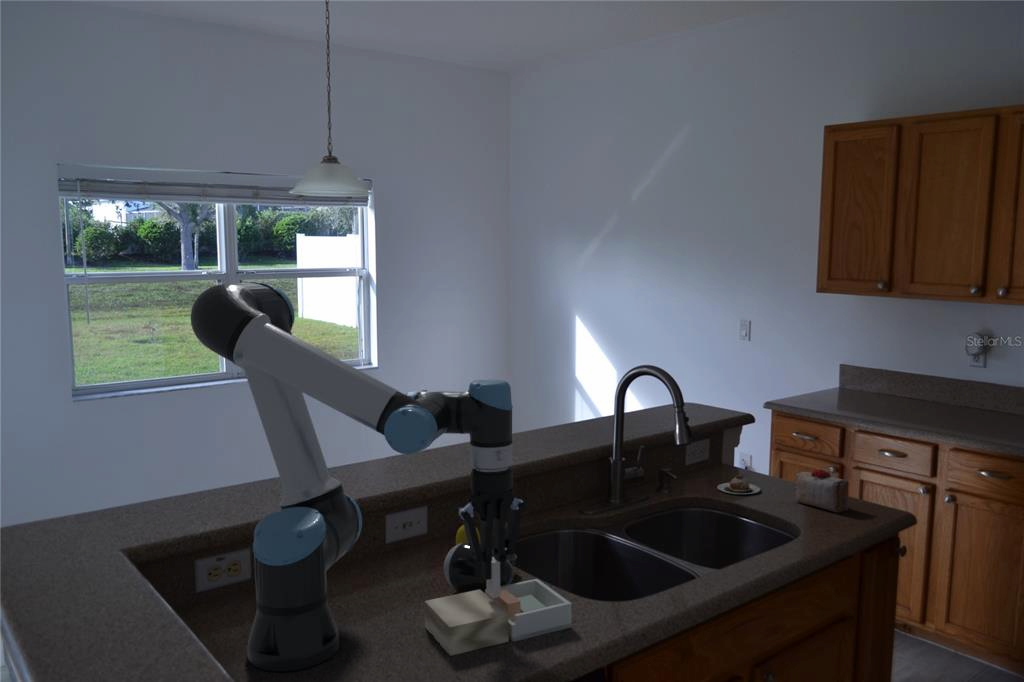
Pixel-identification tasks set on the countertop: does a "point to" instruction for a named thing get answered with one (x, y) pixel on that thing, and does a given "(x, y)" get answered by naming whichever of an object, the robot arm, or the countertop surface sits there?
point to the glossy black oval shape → (469, 570)
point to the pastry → (739, 486)
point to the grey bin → (538, 611)
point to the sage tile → (529, 603)
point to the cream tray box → (466, 622)
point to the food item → (822, 490)
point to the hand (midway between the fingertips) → (493, 594)
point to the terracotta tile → (508, 603)
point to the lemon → (463, 535)
